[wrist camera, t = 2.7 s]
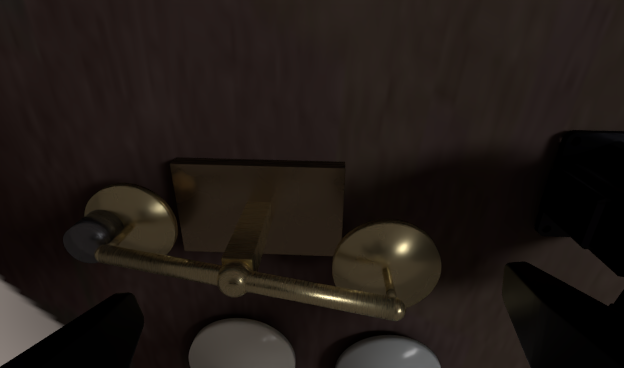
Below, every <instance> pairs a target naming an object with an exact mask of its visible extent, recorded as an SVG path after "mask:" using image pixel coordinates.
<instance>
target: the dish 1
mask: <svg viewBox="0 0 624 368" xmlns="http://www.w3.org/2000/svg"><path fill="white" fill-rule="evenodd" d="M295 362H296V358H295V352H294V349H293V347H292V345H291V344H290V342H289V341H288V340H287V338H286V337H285V336H284V335H283V334H281V333H280V332H279V331H278V330H276V329H275V328H273V327H271V326H269V325H267V324H265V323H262V322H259V321H256V320H251V319H245V318H228V319H222V320H218V321H215V322H213V323H211V324H209V325H207V326H205V327H204V328H203V329H201V330H200V331H199V332H198V334H197V335H196V337H195V339H194V341H193V343H192V345H191V348H190V351H189V364H190V367H191V368H295Z"/></svg>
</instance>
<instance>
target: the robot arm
mask: <svg viewBox="0 0 624 368" xmlns="http://www.w3.org/2000/svg"><path fill="white" fill-rule="evenodd" d="M575 137H577V138H576V141H575V142H574V143H571V141H572V139H573V138H575ZM539 207H540V210H539V213H538V216H537V220H536V223H535V230H536V231H537V232H538V233H539V234H540V235H541V236H556V237H571V238H572V239H573V240H574V241H575V242H576V243H578V244H579V245H580V246H581V247H582V248H583V249H589V250H590V251H591V252H592V253H593V254H594V255H595V256H596V257H597V258H599V259H600V260H601V261H602V262H603V263H604V264H605V265H606V266H607V267H609V268H610V269H611V270H612V271H613V272H614V273H615V274H616V275H617V276H620V277H624V131H587V130H573V131H569V132H567V133H566V134H565V135H564V136H563V138H562V141H561V144H560V147H559V150H558V154H557V157H556V160H555V163H554V166H553V168H552V170H551V171H550V174H549V177H548V181H547V184H546V187H545V190H544V193H543V196H542V200H541V203H540V206H539ZM544 226H547V227H546V228H545V229H543V227H544ZM502 296H503V301H504V303H505V306H506V308H507V311H508V313H509V316H510V318H511V321H512V323H513V326H514V328H515V331H516V333H517V336H518V338H519V341H520V343H521V345H522V348H523V350H524V353H525V355H526V358H527V360H528V362H529V365H530V367H531V368H624V290H623V291H622V292H621V294H620V295H619V297H618V298H617V300H616V301H615V302H614V304H610V305H609V306H607V305H605V304H603V303H601V302H600V301H598V300H596V299H594V298H592V297H590V296H589V295H587V294H585V293H583V292H581V291H579V290H577V289H576V288H574V287H572V286H570V285H568V284H566V283H565V282H563V281H561V280H559V279H557V278H555V277H553V276H552V275H550V274H548V273H546V272H544V271H542V270H541V269H539V268H537V267H535V266H533V265H531V264H529V263H527V262H512V263H507V264H506V265H505V268H504V277H503V287H502ZM143 326H144V316H143V314H142V311H141V309H140V307H139V305H138V302H137V300H136V298H135V296H134V295H133V294H132V293H129V292H127V293H116V294H113V295H112V296H110V297H109V298H107V299H105V300H104V301H102V302H101V303H99V304H98V305H96V306H94V307H93V308H91V309H90V310H88V311H87V312H85V313H84V314H82V315H80V316H79V317H77V318H76V319H74V320H73V321H71V322H69V323H68V324H66V325H65V326H63V327H62V328H60V329H59V330H57V331H55V332H54V333H52V334H51V335H49V336H48V337H46V338H44V339H43V340H41V341H40V342H38V343H37V344H35V345H34V346H32V347H30V348H29V349H27V350H26V351H24V352H23V353H21V354H19V355H18V356H16V357H15V358H13V359H12V360H10V361H9V362H7V363H5V364H4V365H2V366H1V367H0V368H129V367H130V364H131V361H132V358H133V355H134V352H135V349H136V347H137V344H138V341H139V338H140V335H141V332H142V329H143Z"/></svg>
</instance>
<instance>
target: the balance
mask: <svg viewBox="0 0 624 368" xmlns="http://www.w3.org/2000/svg"><path fill="white" fill-rule="evenodd" d="M170 168H171V174H172V180H173V186H174V192H175V197H176V203H177V209H178V215H179V221H180V227H181V232H182V238H183V244H184V250H185V251H202V252H224V254H223V256H222V258H221V259H222V266H221V265H216V264H210V263H205V262H199V261H194V260H189V259H183V258H178V257H172V256H167V254H168V253H169V251H170V250H171V249H172V247H173V246H174V244H175V242H176V240H177V236H178V224H177V220H176V217H175V215H174V213H173V211H172V209H171V208H170V206H169V205H168V204H167V203H166V202H165V201H164V200H163V199H162V198H161V197H160V196H159V195H157V194H156V193H154V192H153V191H151V190H149V189H147V188H145V187H142V186H139V185H136V184H130V183H117V184H112V185H109V186H107V187H105V188H103V189H101V190H100V191H99V192H97V193H96V194H95V195H94V196H93V197H92V198H91V199H90V200H89V201H88V203H87V205H86V208H85V214H84V218H82V219H81V220H80V221H79V222H77V223H76V224H75V225H74V226H72V227H71V228H70V229H69V230H67V231H66V233H65V234H64V237H63V243H64V246H65V248H66V250H67V251H68V252H69V254H70V255H72V256H73V257H74V258H76V259H77V260H79V261H82V262H85V263H97V262H100V263H105V264H110V265H115V266H120V267H125V268H130V269H135V270H140V271H145V272H150V273H155V274H160V275H165V276H170V277H175V278H180V279H185V280H190V281H195V282H201V283H206V284H211V285H216V286H218V287H219V289H220V291H221V292H222V293H223V294H225V295H226V296H229V297H240V296H242V295H244V294H245V293H247V292H251V293H256V294H261V295H266V296H271V297H276V298H281V299H286V300H291V301H296V302H301V303H306V304H311V305H316V306H321V307H326V308H332V309H337V310H342V311H347V312H352V313H357V314H362V315H367V316H372V317H377V318H382V319H387V320H392V321H398V320H401V319H402V318H403V317H404V316H405V313H406V308H408V307H410V306H412V305H414V304H416V303H418V302H420V301H421V300H423V299H424V298H425V297H426V296H427V295H428V294H430V292H431V291H432V290H433V289H434V287H435V286H436V284H437V282H438V280H439V277H440V274H441V259H440V255H439V252H438V250H437V248H436V246H435V244H434V242H433V240H432V239H431V238H430V236H429V235H428V234H427V233H426V232H425V231H424V230H422V229H421V228H419V227H418V226H416V225H414V224H412V223H409V222H406V221H402V220H397V219H379V220H374V221H370V222H366V223H364V224H361V225H359V226H357V227H355V228H354V229H352V230H351V231H350V232H348V233H347V234H346V235H345V236H344V237H343V238H342V224H343V205H344V185H345V162H326V161H287V160H248V159H208V158H176V159H175V160H173V161H172V162H171V163H170ZM262 254H286V255H313V256H333V261H332V273H333V279H334V282H335V285H336V286H330V285H325V284H319V283H314V282H308V281H303V280H297V279H292V278H287V277H281V276H276V275H270V274H265V273H259V272H258V268H259V265H260V261H261V258H262Z"/></svg>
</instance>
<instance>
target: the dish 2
mask: <svg viewBox="0 0 624 368" xmlns="http://www.w3.org/2000/svg"><path fill="white" fill-rule="evenodd" d="M335 368H441V367H440V363H439V361H438V358H437V357H436V355H435V354H434V352H433V351H432V350H431V349H430V348H428V347H427V346H426V345H424V344H423V343H421V342H419V341H417V340H414V339H412V338H408V337H404V336H398V335H380V336H373V337H369V338H366V339H363V340H360V341H358V342H356V343H354V344H352V345H351V346H350V347H348V348H347V349H346V350H345V351H344V352H343V353H342V354H341V355H340V356H339V358H338V360H337V362H336V365H335Z"/></svg>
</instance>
